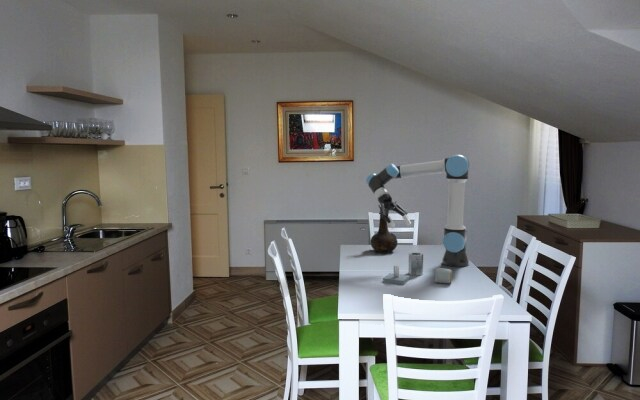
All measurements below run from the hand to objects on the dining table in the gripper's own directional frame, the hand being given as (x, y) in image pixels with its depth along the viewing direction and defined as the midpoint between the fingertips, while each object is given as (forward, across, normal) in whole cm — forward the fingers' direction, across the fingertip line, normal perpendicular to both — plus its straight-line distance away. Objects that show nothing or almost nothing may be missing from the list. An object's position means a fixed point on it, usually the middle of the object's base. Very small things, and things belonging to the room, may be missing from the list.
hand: (402, 226), depth 255 cm
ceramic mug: (+39, +2, +4) cm, 39 cm away
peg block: (+27, +18, -8) cm, 34 cm away
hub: (+25, 0, -10) cm, 27 cm away
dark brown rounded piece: (-9, -29, -46) cm, 55 cm away
